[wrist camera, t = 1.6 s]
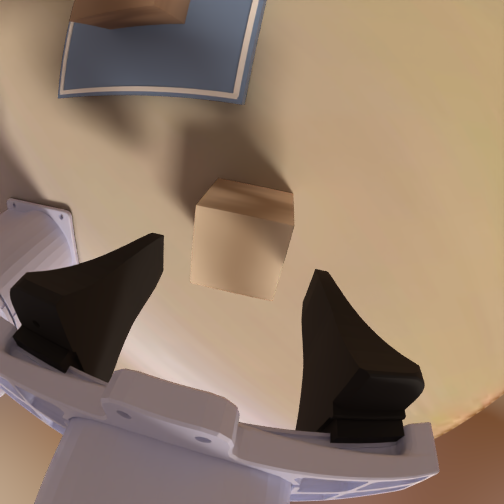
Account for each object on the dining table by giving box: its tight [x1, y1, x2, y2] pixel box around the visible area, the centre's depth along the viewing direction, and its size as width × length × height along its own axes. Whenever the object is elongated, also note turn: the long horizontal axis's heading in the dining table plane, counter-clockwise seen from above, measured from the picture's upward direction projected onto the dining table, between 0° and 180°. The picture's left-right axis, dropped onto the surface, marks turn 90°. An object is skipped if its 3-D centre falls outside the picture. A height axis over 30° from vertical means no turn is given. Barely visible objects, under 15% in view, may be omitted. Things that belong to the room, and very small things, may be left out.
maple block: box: [190, 178, 294, 301], centre depth 16 cm, size 5×5×5 cm
